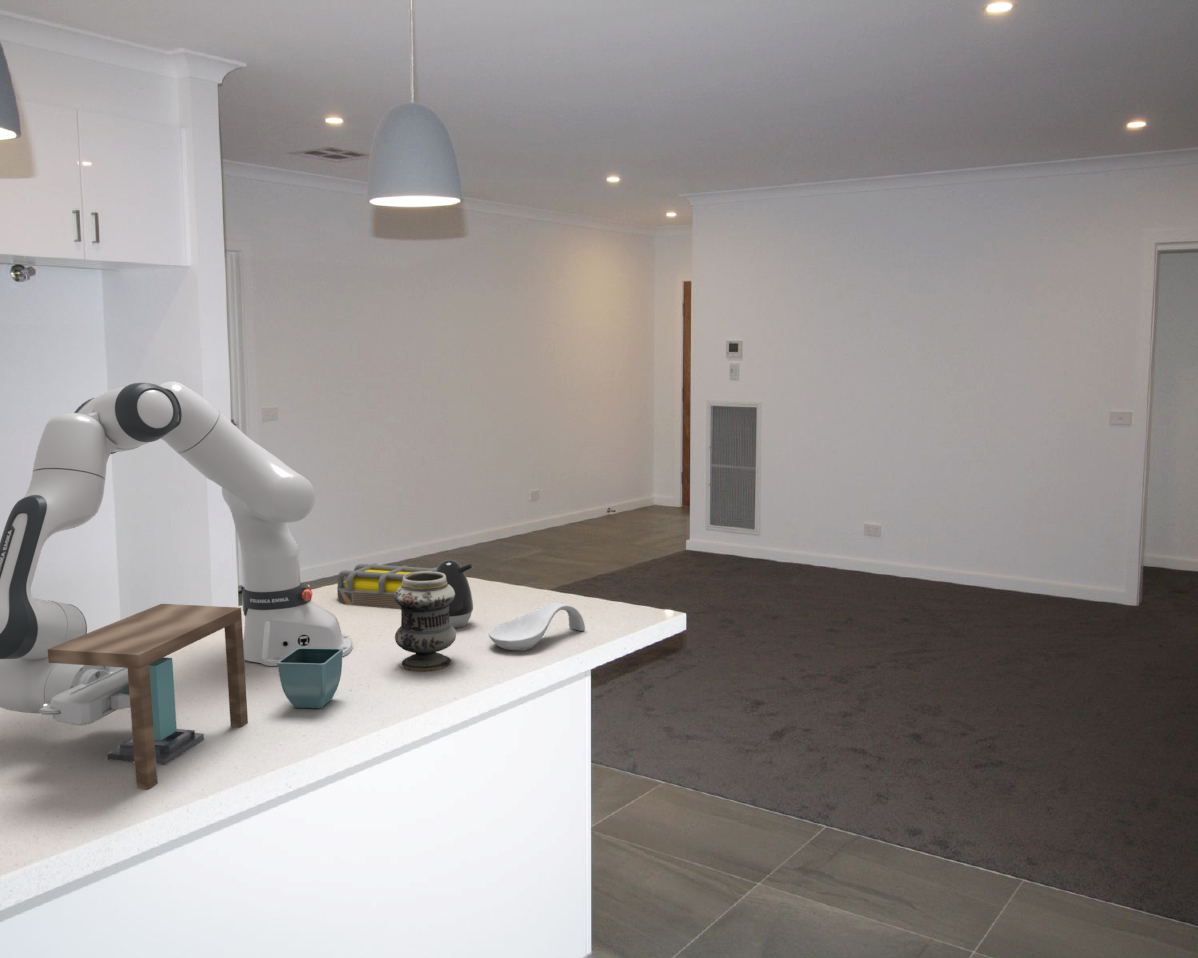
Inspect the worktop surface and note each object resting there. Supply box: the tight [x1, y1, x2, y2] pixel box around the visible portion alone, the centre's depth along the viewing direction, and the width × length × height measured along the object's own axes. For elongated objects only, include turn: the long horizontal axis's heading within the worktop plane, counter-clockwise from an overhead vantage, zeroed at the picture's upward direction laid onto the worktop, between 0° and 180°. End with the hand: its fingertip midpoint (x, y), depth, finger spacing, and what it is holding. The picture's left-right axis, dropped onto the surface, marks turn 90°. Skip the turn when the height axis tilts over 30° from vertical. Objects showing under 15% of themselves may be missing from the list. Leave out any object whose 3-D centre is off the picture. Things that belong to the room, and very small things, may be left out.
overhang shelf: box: [48, 603, 249, 790], centre depth 157 cm, size 15×26×20 cm, turn 168°
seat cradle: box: [107, 728, 205, 766], centre depth 159 cm, size 10×10×2 cm
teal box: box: [131, 656, 178, 740], centre depth 157 cm, size 5×4×12 cm
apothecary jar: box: [394, 571, 457, 672], centre depth 199 cm, size 12×12×18 cm
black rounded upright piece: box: [435, 559, 474, 629], centre depth 226 cm, size 10×10×15 cm
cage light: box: [336, 563, 438, 610], centre depth 250 cm, size 15×8×30 cm
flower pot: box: [276, 648, 343, 709], centre depth 178 cm, size 9×9×9 cm
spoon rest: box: [488, 602, 586, 652], centre depth 215 cm, size 24×12×7 cm, turn 136°
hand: (157, 694), depth 157 cm, fingers closed on teal box, 4 cm apart
